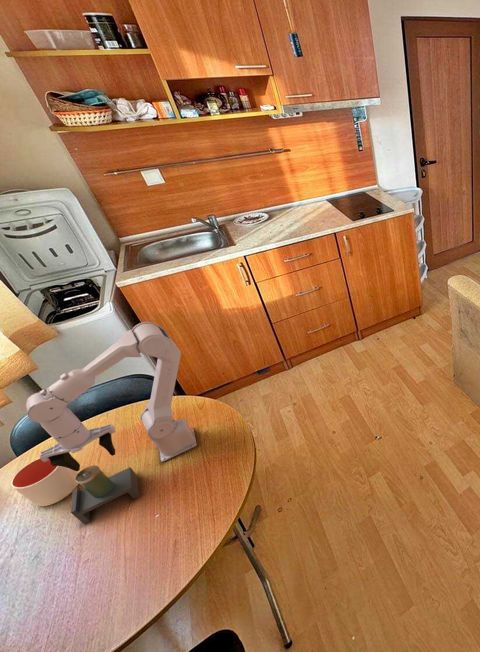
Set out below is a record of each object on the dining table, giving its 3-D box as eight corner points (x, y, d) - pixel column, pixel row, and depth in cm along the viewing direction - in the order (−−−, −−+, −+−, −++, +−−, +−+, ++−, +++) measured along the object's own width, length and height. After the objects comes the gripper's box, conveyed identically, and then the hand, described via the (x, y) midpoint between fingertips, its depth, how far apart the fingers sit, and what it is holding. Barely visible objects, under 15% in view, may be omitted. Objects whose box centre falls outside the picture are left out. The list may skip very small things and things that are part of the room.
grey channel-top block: (137, 475, 111) (127, 464, 107) (139, 496, 106) (128, 484, 102) (85, 500, 105) (72, 489, 101) (83, 524, 99) (70, 512, 96)
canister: (114, 478, 105) (97, 460, 101) (114, 491, 102) (97, 473, 98) (92, 488, 103) (74, 471, 98) (92, 502, 100) (73, 484, 95)
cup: (54, 511, 102) (30, 491, 97) (25, 505, 104) (0, 485, 98) (90, 477, 111) (70, 457, 105) (63, 472, 112) (42, 452, 106)
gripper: (25, 455, 90) (59, 486, 97) (102, 424, 97) (128, 455, 105) (30, 436, 94) (62, 467, 102) (103, 408, 102) (128, 439, 109)
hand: (96, 460), depth 104 cm, fingers open, 7 cm apart
